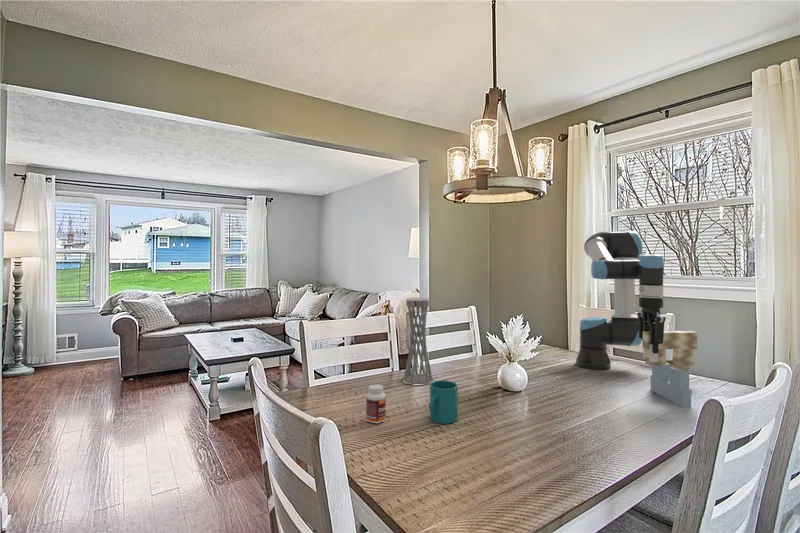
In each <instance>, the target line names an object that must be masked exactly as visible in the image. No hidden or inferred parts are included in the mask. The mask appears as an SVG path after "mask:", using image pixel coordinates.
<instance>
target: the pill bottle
mask: <svg viewBox="0 0 800 533" xmlns="http://www.w3.org/2000/svg"><path fill="white" fill-rule="evenodd" d="M365 398H366V402H365V403H366V406H365V407H366V408H365V409H366V410H365V411H366V414H365V415H366V421H367V420H369V421H372V422H380V421H383V420H385V421H386V419H385V418H386V412H387V408H386V406H387V405H386V400H387V398H386V394H385V392H384V385H382V384H371V385H368V393H367V394H366V397H365Z"/></svg>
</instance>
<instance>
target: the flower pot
mask: <svg viewBox="0 0 800 533" xmlns="http://www.w3.org/2000/svg"><path fill="white" fill-rule="evenodd" d="M666 363H668V364H670V367H678V368H681V369H683V370H686V371H688V372H689V369H690V367H691V366H692V365H676V364H674V363H673V359H666Z"/></svg>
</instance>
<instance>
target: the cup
mask: <svg viewBox="0 0 800 533" xmlns="http://www.w3.org/2000/svg"><path fill="white" fill-rule="evenodd" d="M428 410H429V419H430V420H431V421H432V422H433V423H436V424H439V423H441V425H450V423H451V424H454V423H456V422H457V420H458V419H459V385H458V383H456V382H453V381H449V380H436V381H435V380H434V382H432V383H431V384H429V404H428Z"/></svg>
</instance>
